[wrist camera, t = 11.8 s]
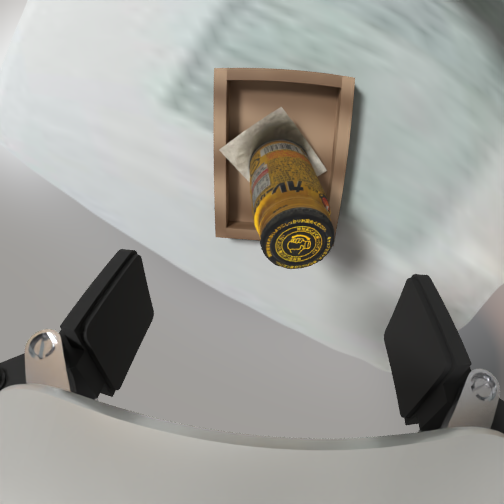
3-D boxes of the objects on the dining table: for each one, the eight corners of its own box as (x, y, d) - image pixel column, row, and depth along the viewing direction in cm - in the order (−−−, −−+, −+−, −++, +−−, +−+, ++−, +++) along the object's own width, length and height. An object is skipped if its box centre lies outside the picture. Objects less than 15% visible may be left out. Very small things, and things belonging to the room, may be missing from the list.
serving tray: (219, 70, 25) (214, 68, 23) (349, 78, 24) (354, 77, 22) (220, 226, 35) (215, 236, 33) (330, 235, 34) (333, 246, 32)
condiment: (269, 204, 32) (283, 290, 23) (219, 149, 27) (210, 224, 18) (326, 169, 29) (366, 247, 20) (281, 105, 24) (310, 159, 16)
